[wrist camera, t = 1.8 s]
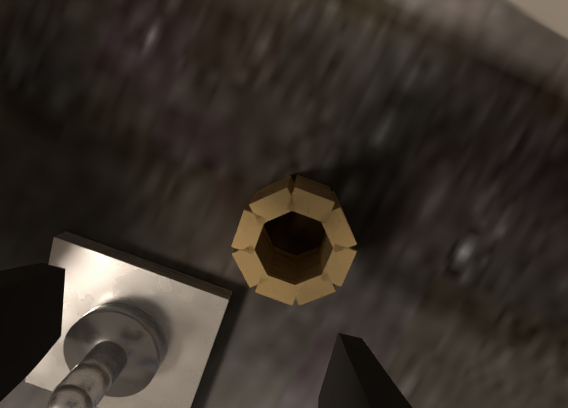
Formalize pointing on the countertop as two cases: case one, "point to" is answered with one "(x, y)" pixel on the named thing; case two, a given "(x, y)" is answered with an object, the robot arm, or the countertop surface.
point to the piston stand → (127, 330)
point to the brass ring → (286, 266)
